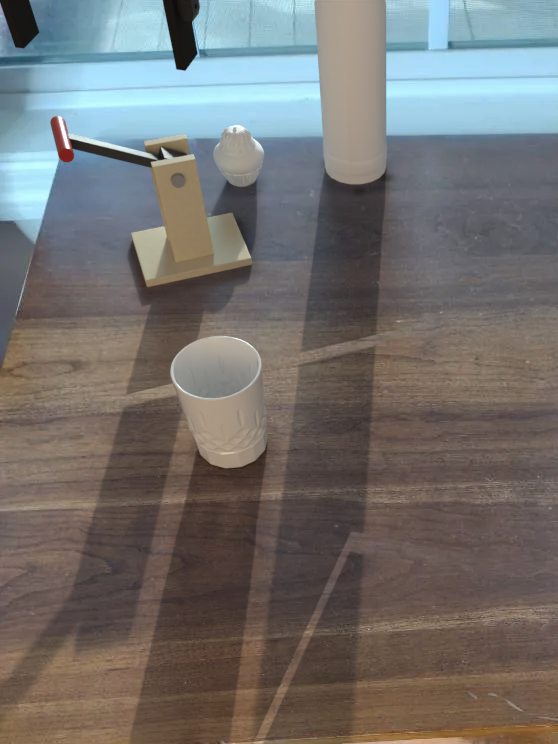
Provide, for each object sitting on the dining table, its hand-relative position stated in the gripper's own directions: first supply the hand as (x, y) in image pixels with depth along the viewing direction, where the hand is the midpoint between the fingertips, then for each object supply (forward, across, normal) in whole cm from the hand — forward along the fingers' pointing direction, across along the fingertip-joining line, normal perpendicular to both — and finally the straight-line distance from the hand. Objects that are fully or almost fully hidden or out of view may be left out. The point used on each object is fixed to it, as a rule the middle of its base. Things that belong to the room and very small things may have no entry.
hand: (106, 51), depth 69 cm
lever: (+17, +7, -9) cm, 20 cm away
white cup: (+29, -11, +14) cm, 34 cm away
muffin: (+29, +2, -27) cm, 40 cm away
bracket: (+29, +3, -12) cm, 31 cm away
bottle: (+29, -11, -33) cm, 45 cm away
